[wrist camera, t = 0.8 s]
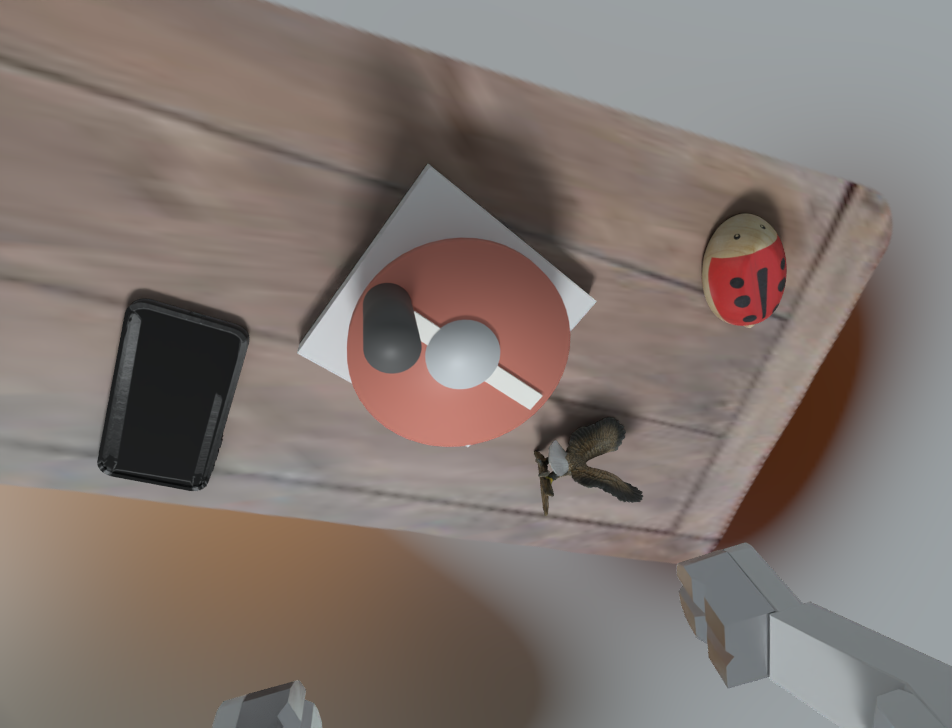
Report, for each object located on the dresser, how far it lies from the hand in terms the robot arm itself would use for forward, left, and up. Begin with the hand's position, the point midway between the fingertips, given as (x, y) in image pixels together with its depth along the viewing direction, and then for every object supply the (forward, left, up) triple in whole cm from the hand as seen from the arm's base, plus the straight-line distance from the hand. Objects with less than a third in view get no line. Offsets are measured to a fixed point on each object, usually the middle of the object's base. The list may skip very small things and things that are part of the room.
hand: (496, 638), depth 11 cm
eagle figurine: (+24, -6, -31) cm, 39 cm away
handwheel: (+6, -2, -25) cm, 26 cm away
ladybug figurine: (+23, +15, -31) cm, 41 cm away
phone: (-7, -19, -31) cm, 37 cm away
